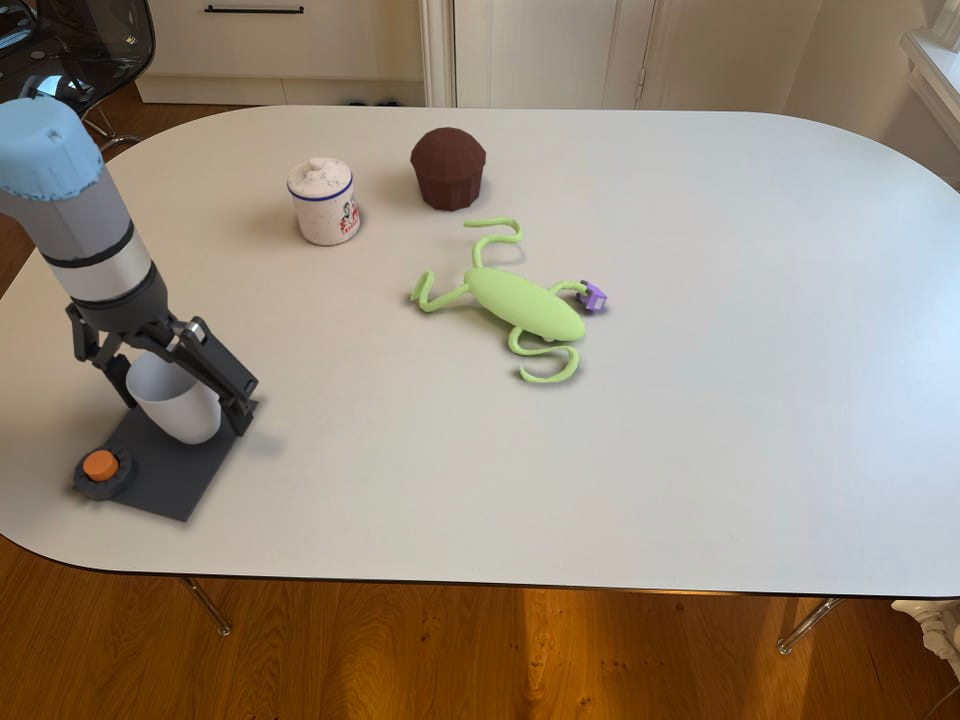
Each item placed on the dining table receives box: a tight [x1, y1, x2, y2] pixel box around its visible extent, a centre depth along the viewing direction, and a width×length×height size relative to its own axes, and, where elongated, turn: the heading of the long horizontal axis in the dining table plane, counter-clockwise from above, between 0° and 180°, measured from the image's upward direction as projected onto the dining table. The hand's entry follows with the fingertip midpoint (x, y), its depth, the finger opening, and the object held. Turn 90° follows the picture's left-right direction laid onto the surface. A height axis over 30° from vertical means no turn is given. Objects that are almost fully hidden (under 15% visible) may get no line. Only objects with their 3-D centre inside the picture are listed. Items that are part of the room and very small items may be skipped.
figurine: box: [409, 215, 608, 384], centre depth 91 cm, size 18×27×6 cm
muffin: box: [409, 126, 487, 212], centre depth 105 cm, size 12×11×10 cm
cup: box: [126, 341, 221, 444], centre depth 77 cm, size 8×8×10 cm
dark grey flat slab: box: [71, 396, 260, 523], centre depth 79 cm, size 14×16×3 cm
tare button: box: [83, 450, 118, 481], centre depth 75 cm, size 3×3×2 cm
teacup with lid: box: [286, 156, 361, 246], centre depth 101 cm, size 12×9×12 cm
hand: (190, 413), depth 79 cm, fingers open, 13 cm apart
